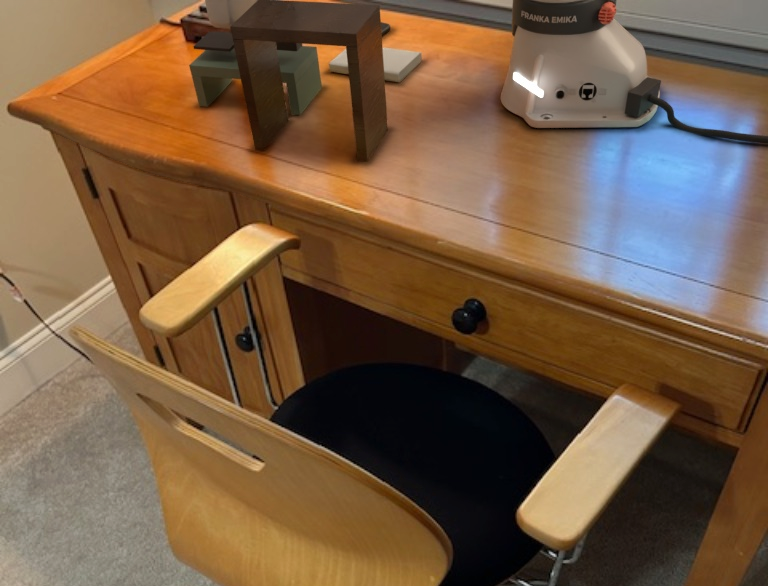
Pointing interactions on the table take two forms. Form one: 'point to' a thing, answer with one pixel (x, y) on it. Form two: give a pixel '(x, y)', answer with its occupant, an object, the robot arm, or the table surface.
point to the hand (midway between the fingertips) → (258, 37)
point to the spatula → (225, 43)
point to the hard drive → (385, 63)
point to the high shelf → (321, 27)
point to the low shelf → (222, 67)
